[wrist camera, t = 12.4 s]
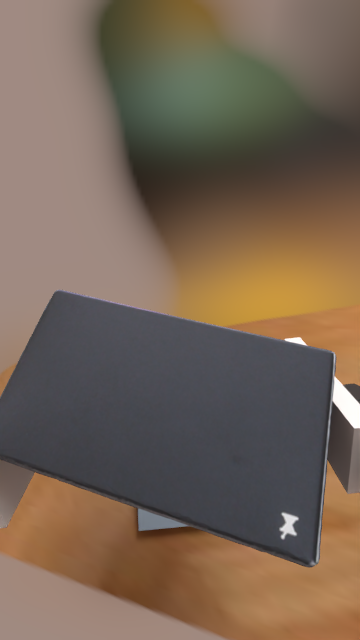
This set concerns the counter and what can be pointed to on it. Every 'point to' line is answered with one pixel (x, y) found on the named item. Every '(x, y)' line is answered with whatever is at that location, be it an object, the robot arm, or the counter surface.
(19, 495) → the robot arm
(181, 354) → the small box
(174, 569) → the counter surface
